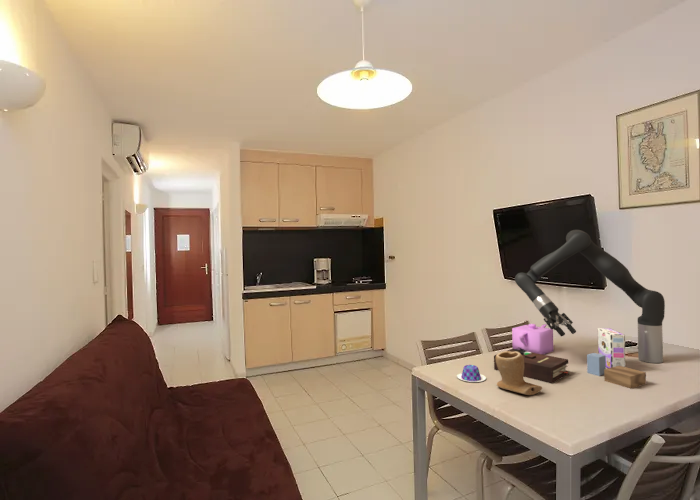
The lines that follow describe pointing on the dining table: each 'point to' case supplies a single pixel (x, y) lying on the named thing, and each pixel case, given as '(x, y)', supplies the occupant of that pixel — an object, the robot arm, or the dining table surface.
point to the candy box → (612, 347)
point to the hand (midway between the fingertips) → (569, 334)
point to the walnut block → (625, 376)
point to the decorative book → (541, 366)
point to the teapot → (533, 338)
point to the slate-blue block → (596, 364)
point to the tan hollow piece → (514, 373)
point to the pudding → (471, 374)
